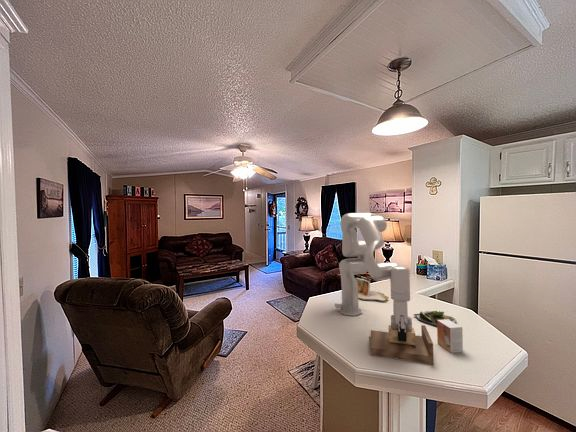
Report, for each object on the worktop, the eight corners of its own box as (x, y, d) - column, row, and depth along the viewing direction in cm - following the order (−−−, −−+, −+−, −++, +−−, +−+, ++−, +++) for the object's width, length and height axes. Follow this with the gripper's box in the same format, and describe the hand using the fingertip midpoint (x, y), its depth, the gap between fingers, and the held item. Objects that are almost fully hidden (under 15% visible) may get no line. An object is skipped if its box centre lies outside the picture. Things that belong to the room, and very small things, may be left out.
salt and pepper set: (389, 341, 104) (388, 318, 104) (388, 336, 109) (388, 313, 109) (415, 345, 101) (414, 321, 101) (413, 339, 106) (413, 316, 106)
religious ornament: (346, 294, 178) (346, 278, 178) (369, 291, 185) (368, 275, 185) (369, 306, 155) (368, 287, 155) (393, 301, 162) (393, 283, 162)
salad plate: (428, 310, 146) (428, 302, 146) (463, 320, 131) (462, 312, 131) (410, 319, 135) (409, 310, 135) (445, 331, 120) (445, 322, 120)
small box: (437, 343, 109) (436, 319, 109) (449, 342, 109) (448, 318, 109) (450, 353, 101) (449, 327, 101) (463, 352, 101) (462, 326, 101)
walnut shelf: (370, 354, 102) (369, 335, 102) (370, 336, 117) (370, 319, 117) (433, 364, 94) (433, 343, 94) (425, 343, 109) (425, 325, 109)
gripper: (389, 288, 114) (391, 327, 114) (391, 301, 98) (393, 346, 98) (407, 289, 112) (408, 329, 112) (412, 303, 96) (414, 349, 96)
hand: (401, 337), depth 105 cm, fingers closed on salt and pepper set, 5 cm apart
